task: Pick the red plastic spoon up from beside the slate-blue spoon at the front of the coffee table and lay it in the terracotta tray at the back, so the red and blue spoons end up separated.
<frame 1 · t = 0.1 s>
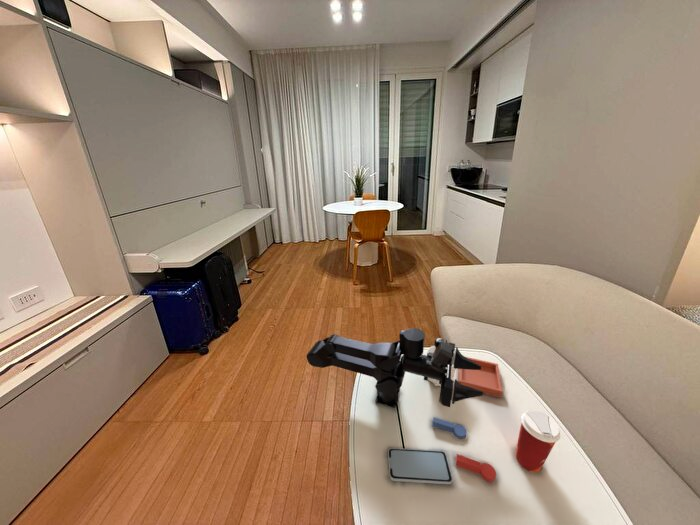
hand: (482, 380, 71), 17 cm above the table, tool horizontal, fingers open, 9 cm apart
red spoon: (474, 469, 66), on the table
blue spoon: (448, 429, 75), on the table
paper cup: (527, 460, 67), on the table
smartphone: (418, 466, 67), on the table
terracotta tray: (478, 377, 92), on the table
cup: (439, 378, 93), on the table
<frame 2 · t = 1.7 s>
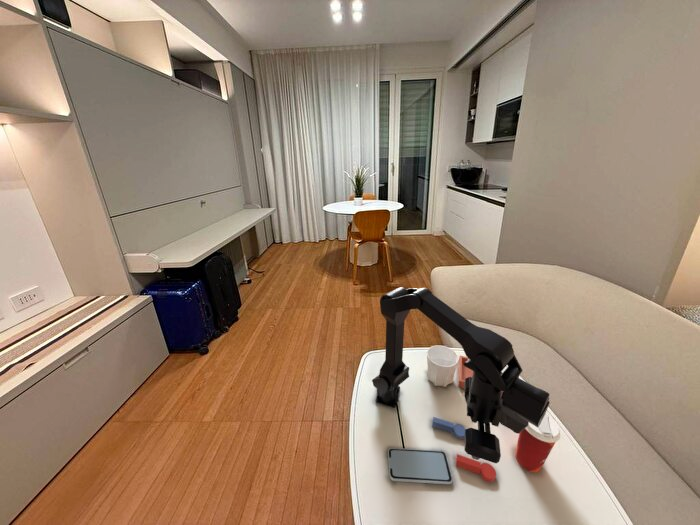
hand: (474, 439, 62), 10 cm above the table, tool pointing down, fingers open, 9 cm apart
nothing on the table moved.
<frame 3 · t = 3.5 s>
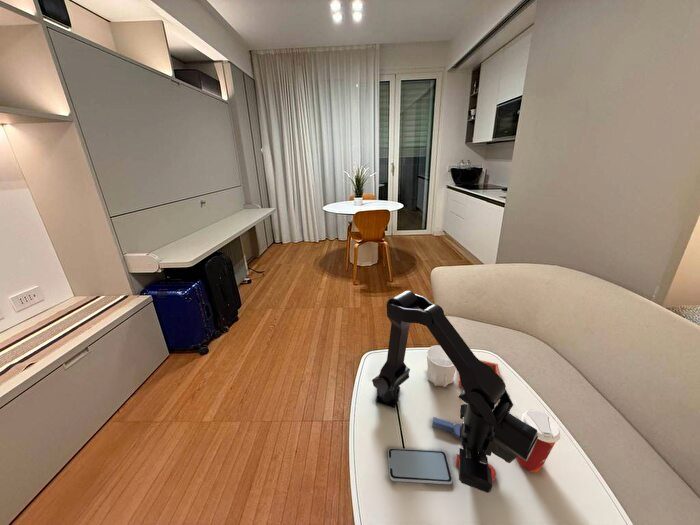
hand: (468, 464, 66), 1 cm above the table, tool pointing down, fingers closed on red spoon, 2 cm apart
red spoon: (474, 469, 66), on the table, touching gripper
everything else where it was.
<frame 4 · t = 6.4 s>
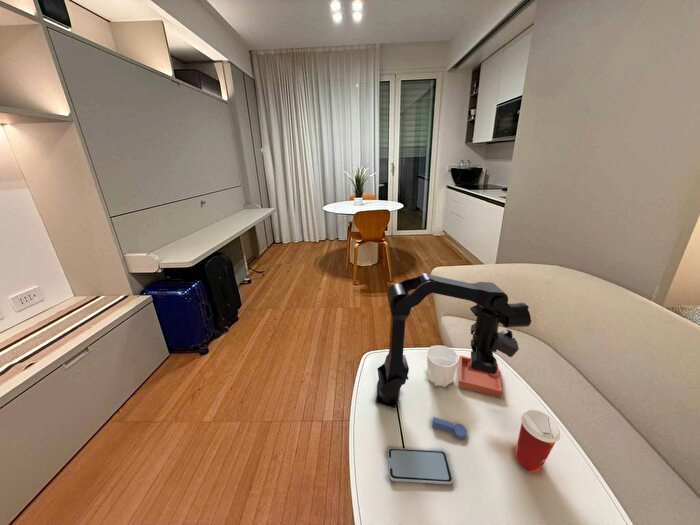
hand: (478, 368, 81), 11 cm above the table, tool pointing down, fingers closed on red spoon
red spoon: (483, 372, 81), point 10 cm above the table, touching gripper
everything else where it was.
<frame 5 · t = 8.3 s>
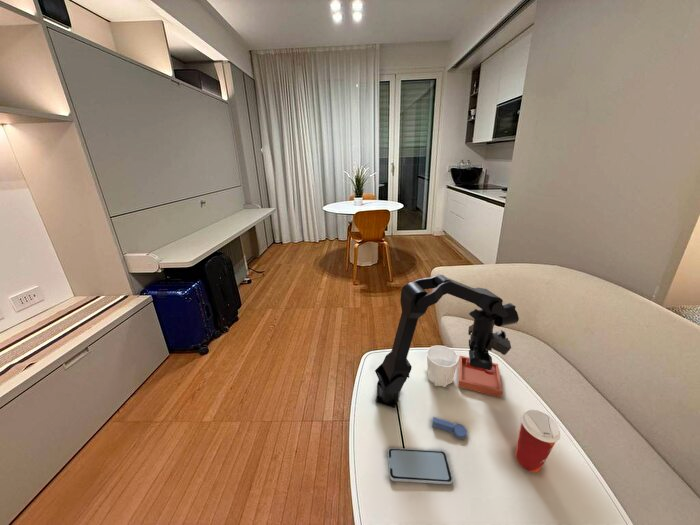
hand: (475, 365, 91), 5 cm above the table, tool pointing down, fingers closed on red spoon
red spoon: (480, 368, 90), point 4 cm above the table, touching gripper
everything else where it was.
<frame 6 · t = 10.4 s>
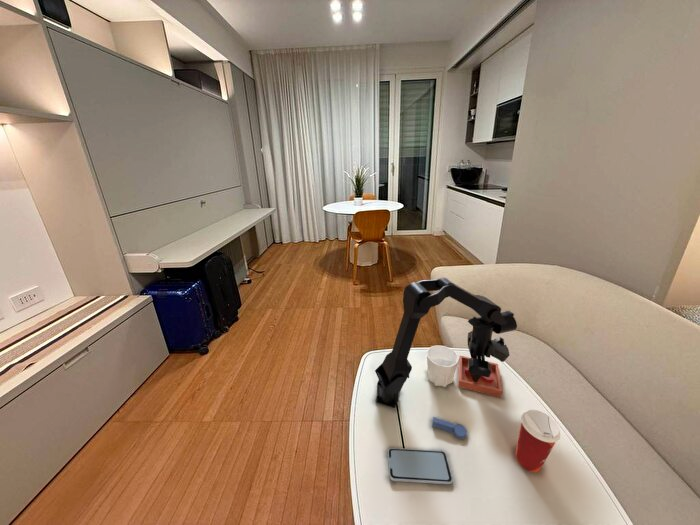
hand: (474, 371, 92), 2 cm above the table, tool pointing down, fingers open, 9 cm apart
red spoon: (478, 376, 92), point 1 cm above the table, touching terracotta tray
everything else where it was.
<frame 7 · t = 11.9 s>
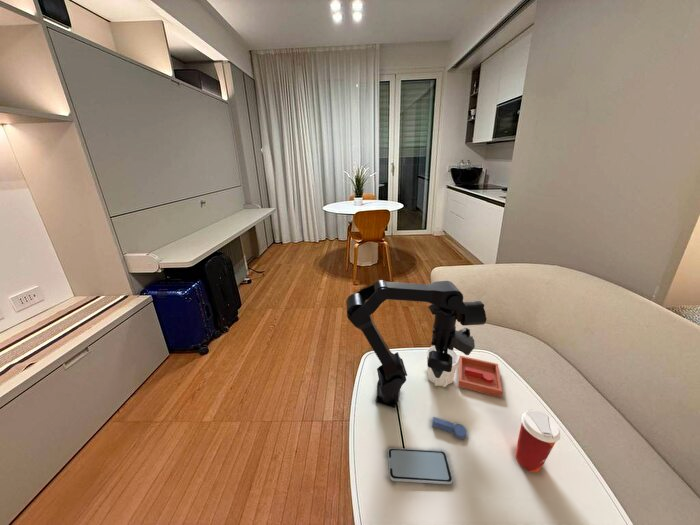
hand: (438, 366, 82), 12 cm above the table, tool pointing down, fingers open, 9 cm apart
nothing on the table moved.
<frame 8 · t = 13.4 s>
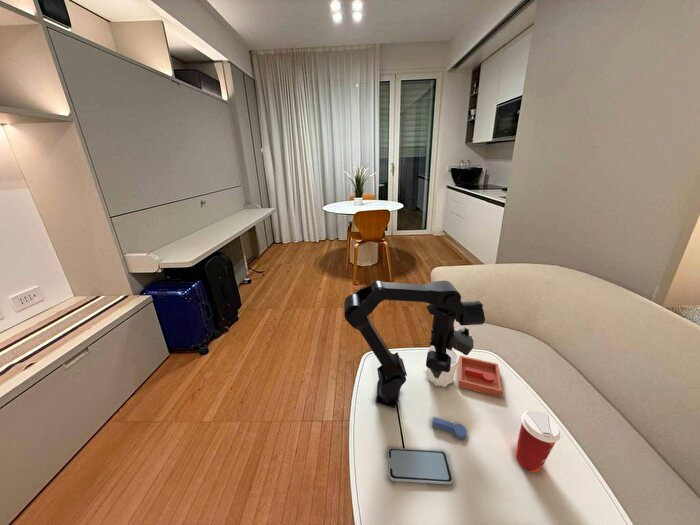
hand: (437, 366, 81), 12 cm above the table, tool pointing down, fingers open, 9 cm apart
nothing on the table moved.
at the end: red spoon inside the target area in the terracotta tray (0.1 cm from its centre), point 0.6 cm above the terracotta tray's base; blue spoon moved 0.0 cm from its start; the gripper is holding nothing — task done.
